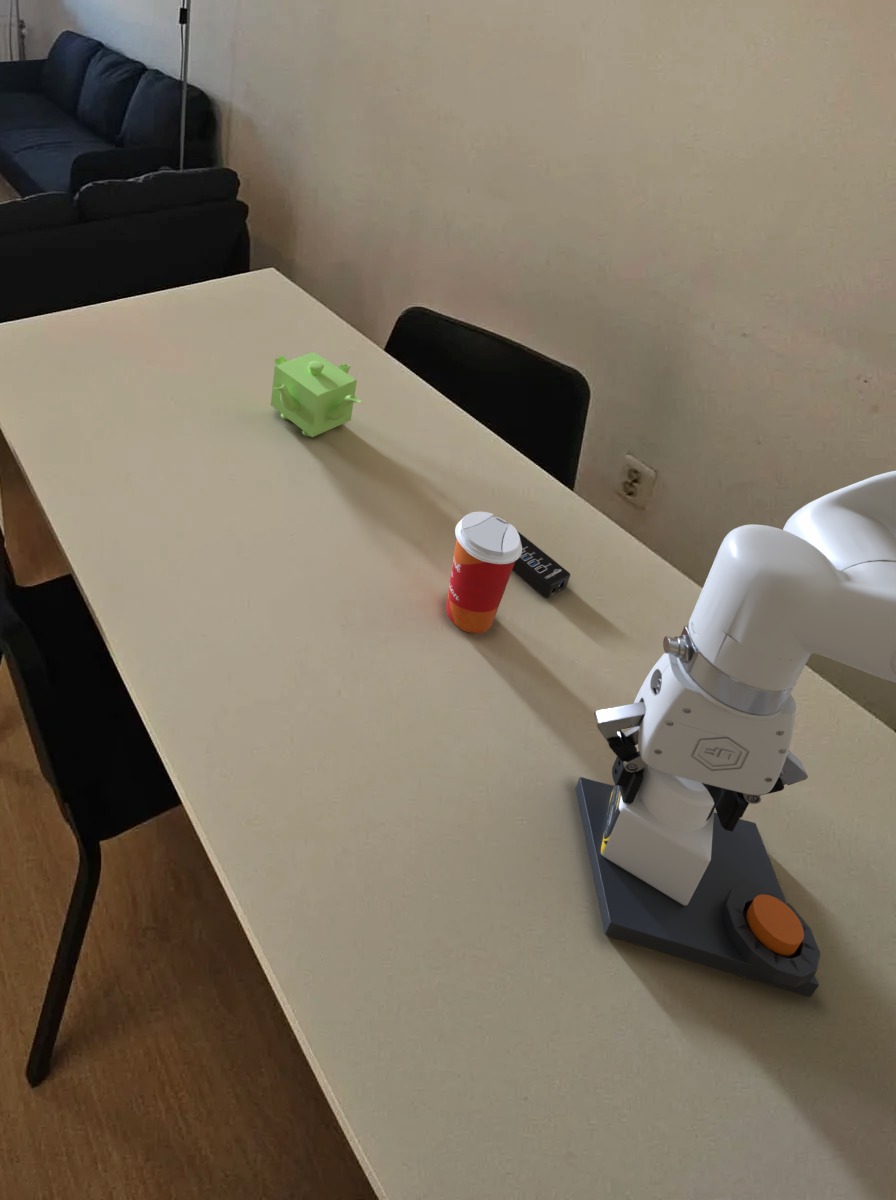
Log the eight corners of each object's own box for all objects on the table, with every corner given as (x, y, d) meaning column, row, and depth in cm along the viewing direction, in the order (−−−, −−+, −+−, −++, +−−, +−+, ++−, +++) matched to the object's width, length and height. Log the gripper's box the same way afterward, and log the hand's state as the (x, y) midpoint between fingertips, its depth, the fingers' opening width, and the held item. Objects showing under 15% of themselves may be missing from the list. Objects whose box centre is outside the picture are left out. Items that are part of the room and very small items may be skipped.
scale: (752, 835, 77) (764, 813, 76) (818, 1009, 65) (834, 987, 64) (575, 788, 81) (583, 766, 79) (606, 945, 69) (617, 922, 67)
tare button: (785, 912, 69) (792, 901, 68) (804, 962, 65) (812, 950, 65) (739, 900, 69) (746, 888, 69) (756, 947, 66) (763, 936, 66)
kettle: (353, 451, 129) (362, 395, 125) (267, 441, 131) (272, 385, 127) (348, 399, 143) (356, 346, 138) (270, 390, 145) (276, 338, 140)
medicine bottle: (611, 792, 79) (644, 711, 74) (693, 838, 75) (733, 756, 70) (599, 855, 73) (633, 773, 69) (686, 909, 70) (730, 826, 65)
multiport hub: (501, 532, 114) (505, 520, 113) (568, 587, 105) (572, 574, 104) (480, 542, 112) (483, 530, 111) (546, 599, 103) (550, 586, 102)
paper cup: (455, 581, 105) (475, 499, 100) (511, 616, 100) (535, 532, 95) (425, 614, 100) (445, 530, 95) (483, 653, 95) (506, 566, 90)
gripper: (630, 677, 63) (576, 814, 70) (882, 736, 59) (799, 875, 66) (607, 603, 69) (561, 735, 77) (833, 652, 66) (762, 787, 73)
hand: (671, 799), depth 71 cm, fingers closed on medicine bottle, 7 cm apart
